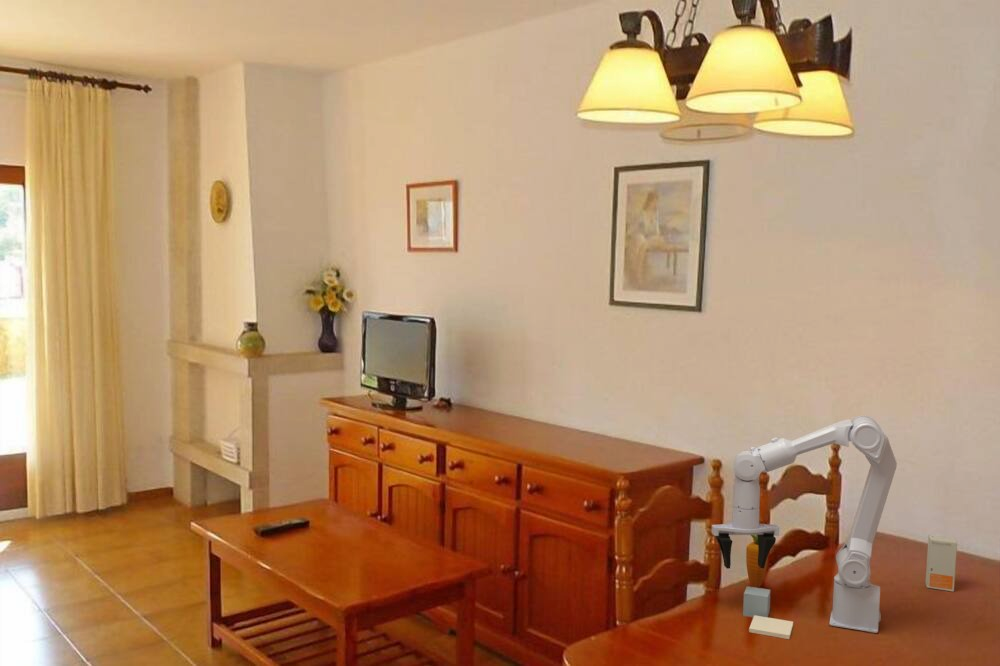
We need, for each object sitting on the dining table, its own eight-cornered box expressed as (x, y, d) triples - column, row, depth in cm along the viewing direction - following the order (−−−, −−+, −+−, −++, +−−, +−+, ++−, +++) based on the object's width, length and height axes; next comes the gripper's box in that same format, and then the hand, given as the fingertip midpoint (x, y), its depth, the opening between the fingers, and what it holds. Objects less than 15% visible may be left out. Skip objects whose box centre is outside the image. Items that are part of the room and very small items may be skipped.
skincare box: (926, 588, 212) (929, 539, 212) (925, 583, 216) (927, 534, 216) (954, 592, 210) (957, 542, 209) (953, 586, 214) (955, 538, 213)
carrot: (767, 595, 205) (770, 531, 204) (745, 593, 206) (748, 530, 205) (765, 588, 210) (768, 526, 209) (743, 586, 211) (746, 524, 210)
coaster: (793, 625, 188) (793, 621, 188) (789, 639, 180) (789, 635, 180) (754, 618, 191) (754, 615, 191) (749, 632, 183) (749, 628, 183)
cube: (769, 612, 195) (770, 589, 195) (766, 619, 191) (767, 597, 190) (746, 608, 197) (747, 586, 197) (742, 615, 193) (743, 593, 192)
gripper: (771, 501, 199) (769, 561, 200) (708, 501, 199) (706, 561, 199) (783, 509, 192) (781, 571, 193) (717, 509, 191) (716, 571, 192)
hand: (744, 567), depth 196 cm, fingers open, 7 cm apart
